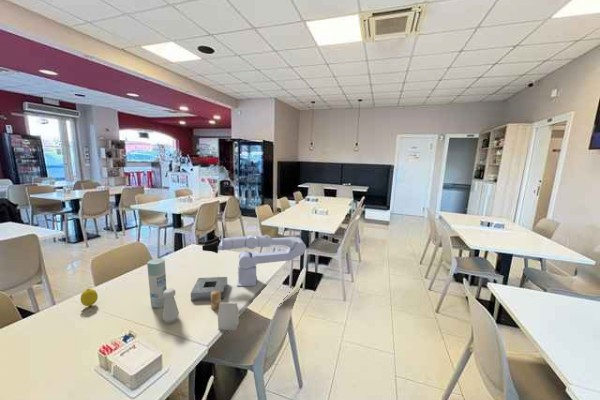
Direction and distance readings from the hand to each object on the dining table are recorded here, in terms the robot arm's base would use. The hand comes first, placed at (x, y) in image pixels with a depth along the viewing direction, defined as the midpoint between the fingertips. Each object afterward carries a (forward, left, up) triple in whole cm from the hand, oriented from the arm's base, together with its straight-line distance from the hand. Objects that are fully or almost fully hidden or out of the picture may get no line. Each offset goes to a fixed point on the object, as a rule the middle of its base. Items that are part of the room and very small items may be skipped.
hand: (203, 246), depth 123 cm
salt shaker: (+7, +26, -21) cm, 35 cm away
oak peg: (-9, +19, -21) cm, 30 cm away
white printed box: (-16, +32, -21) cm, 42 cm away
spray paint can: (+16, +14, -21) cm, 30 cm away
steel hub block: (-4, +6, -21) cm, 22 cm away
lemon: (+44, +13, -21) cm, 51 cm away
